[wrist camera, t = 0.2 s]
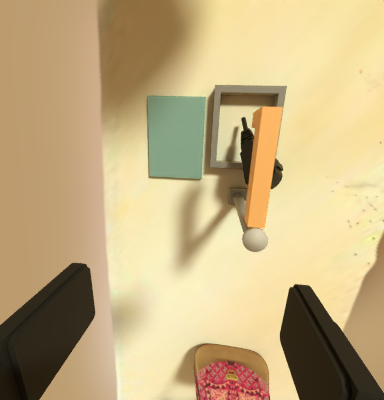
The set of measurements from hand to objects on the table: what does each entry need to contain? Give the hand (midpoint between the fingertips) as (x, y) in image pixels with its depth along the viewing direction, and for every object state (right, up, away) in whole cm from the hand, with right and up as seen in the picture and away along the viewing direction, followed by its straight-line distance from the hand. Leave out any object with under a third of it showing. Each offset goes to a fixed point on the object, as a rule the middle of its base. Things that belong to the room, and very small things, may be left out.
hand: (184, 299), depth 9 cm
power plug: (+11, +18, +26) cm, 34 cm away
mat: (-3, +16, +28) cm, 32 cm away
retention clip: (+8, +7, +15) cm, 19 cm away
